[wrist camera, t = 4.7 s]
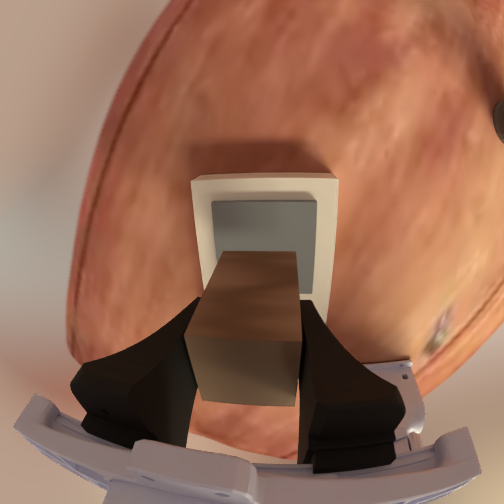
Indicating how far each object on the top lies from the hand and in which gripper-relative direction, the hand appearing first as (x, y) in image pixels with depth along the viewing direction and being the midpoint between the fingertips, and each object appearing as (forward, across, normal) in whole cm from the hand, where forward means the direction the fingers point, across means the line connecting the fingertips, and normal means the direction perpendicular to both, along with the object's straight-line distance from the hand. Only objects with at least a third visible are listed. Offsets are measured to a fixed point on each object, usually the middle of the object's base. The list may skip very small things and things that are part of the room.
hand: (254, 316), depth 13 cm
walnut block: (+3, 0, 0) cm, 4 cm away
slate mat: (+8, 0, 0) cm, 8 cm away
